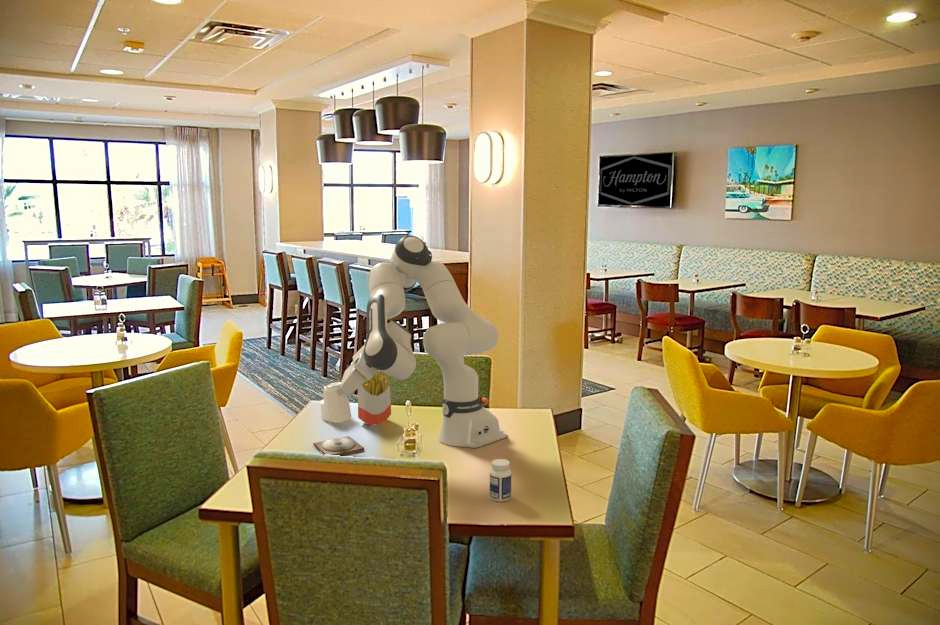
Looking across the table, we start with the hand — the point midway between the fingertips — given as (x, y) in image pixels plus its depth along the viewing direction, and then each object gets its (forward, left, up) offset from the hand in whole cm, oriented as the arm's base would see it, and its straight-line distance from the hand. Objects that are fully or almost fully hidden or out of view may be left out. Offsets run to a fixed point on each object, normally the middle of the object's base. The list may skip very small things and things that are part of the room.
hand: (335, 394), depth 210 cm
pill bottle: (-23, +55, -18) cm, 63 cm away
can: (-2, +1, -8) cm, 9 cm away
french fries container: (-20, -16, -18) cm, 31 cm away
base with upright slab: (-10, -29, -18) cm, 35 cm away
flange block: (0, 0, -18) cm, 18 cm away
